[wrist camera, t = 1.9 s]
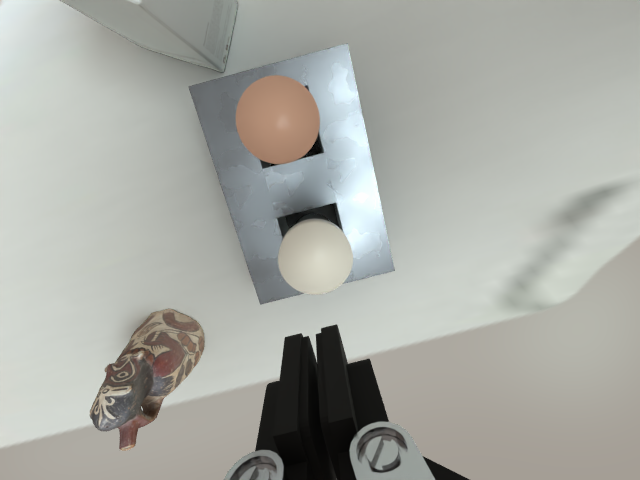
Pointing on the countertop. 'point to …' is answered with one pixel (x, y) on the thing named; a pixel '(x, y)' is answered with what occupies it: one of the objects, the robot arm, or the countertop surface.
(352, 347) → the countertop surface
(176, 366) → the figurine
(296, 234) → the knob
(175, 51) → the skincare box
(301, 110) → the knob
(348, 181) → the housing
